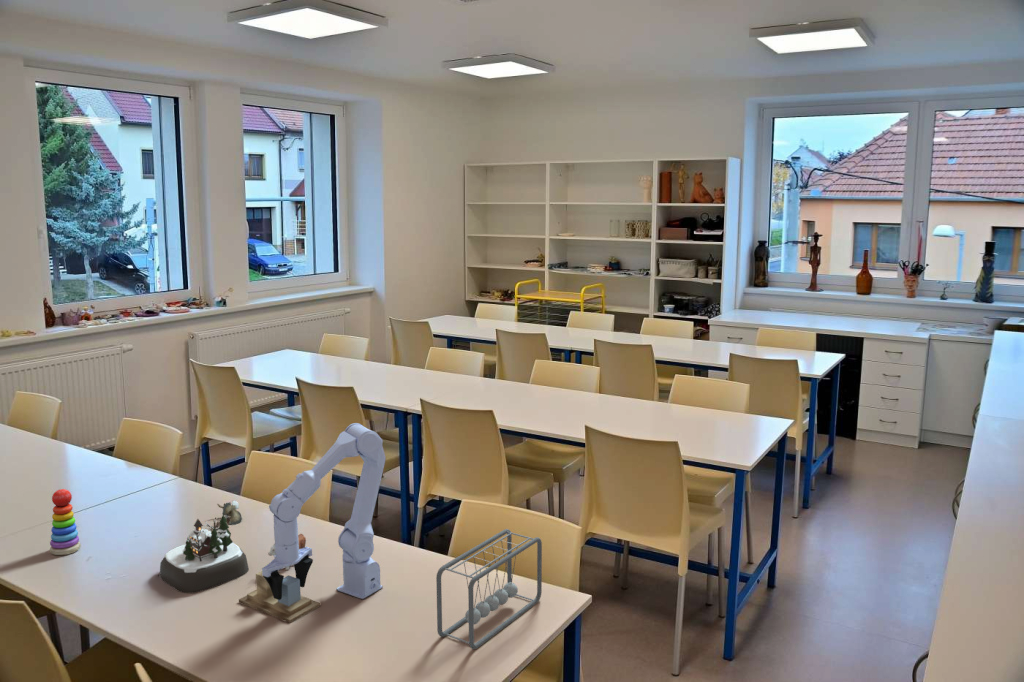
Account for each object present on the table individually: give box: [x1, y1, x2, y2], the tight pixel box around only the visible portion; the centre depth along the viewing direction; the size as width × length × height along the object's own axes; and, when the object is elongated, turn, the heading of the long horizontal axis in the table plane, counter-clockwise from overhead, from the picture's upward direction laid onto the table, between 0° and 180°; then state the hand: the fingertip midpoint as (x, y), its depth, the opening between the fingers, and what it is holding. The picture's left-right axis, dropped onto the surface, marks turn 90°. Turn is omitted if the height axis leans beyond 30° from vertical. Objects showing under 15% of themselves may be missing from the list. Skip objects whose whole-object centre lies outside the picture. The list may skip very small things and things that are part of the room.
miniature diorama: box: [159, 514, 250, 594], centre depth 224 cm, size 20×20×17 cm
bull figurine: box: [267, 533, 307, 572], centre depth 229 cm, size 4×13×8 cm, turn 152°
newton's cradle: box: [436, 528, 543, 650], centre depth 199 cm, size 30×10×18 cm, turn 146°
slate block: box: [278, 575, 302, 606], centre depth 205 cm, size 4×4×6 cm
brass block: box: [255, 570, 280, 598], centre depth 209 cm, size 4×4×6 cm
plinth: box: [238, 589, 321, 624], centre depth 207 cm, size 19×10×2 cm, turn 57°
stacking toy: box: [49, 488, 82, 556], centre depth 237 cm, size 8×8×19 cm
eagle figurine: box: [216, 500, 243, 526], centre depth 261 cm, size 8×7×9 cm
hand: (289, 592), depth 204 cm, fingers open, 7 cm apart
